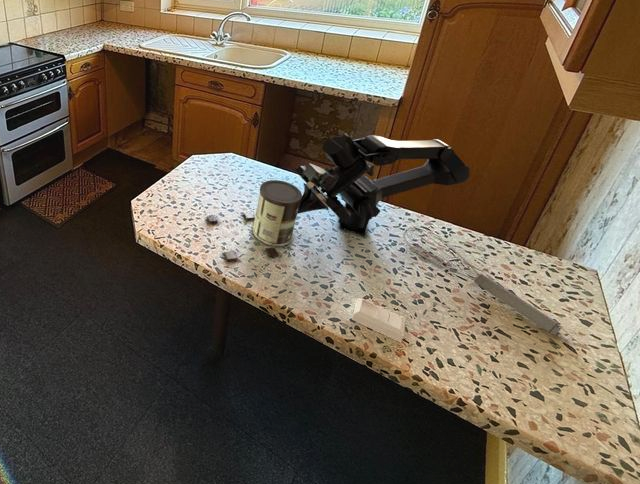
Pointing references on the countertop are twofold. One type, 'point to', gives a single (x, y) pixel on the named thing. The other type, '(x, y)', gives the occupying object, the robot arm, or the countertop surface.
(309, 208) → the robot arm
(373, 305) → the soap bar
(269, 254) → the tabs
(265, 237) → the coffee can
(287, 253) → the countertop surface
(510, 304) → the kitchen whisk
